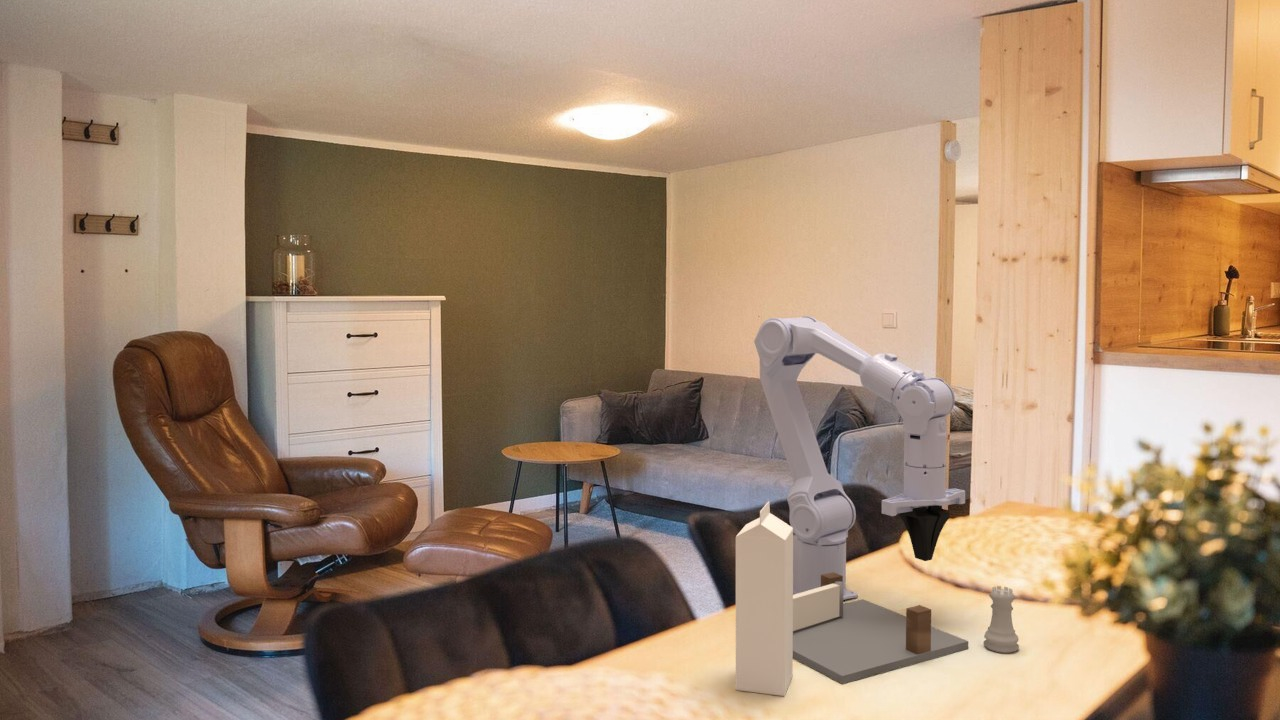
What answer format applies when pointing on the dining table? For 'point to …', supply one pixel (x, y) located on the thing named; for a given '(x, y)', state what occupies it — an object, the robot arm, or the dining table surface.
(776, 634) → the milk
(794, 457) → the robot arm
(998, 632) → the rook chess piece
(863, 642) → the base
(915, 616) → the gate posts
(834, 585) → the gate leaf
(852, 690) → the dining table surface
